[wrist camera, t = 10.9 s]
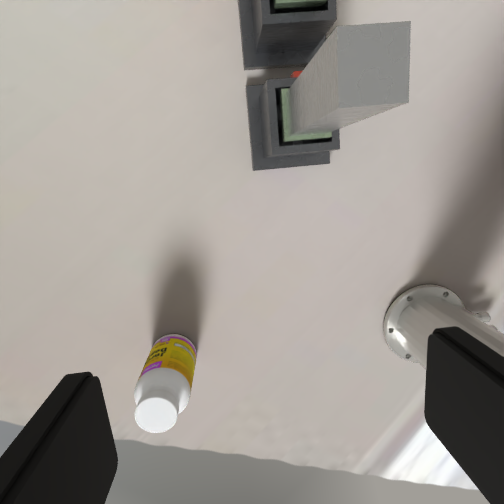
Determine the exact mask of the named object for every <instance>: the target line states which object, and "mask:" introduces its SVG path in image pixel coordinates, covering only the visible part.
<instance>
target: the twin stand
mask: <svg viewBox="0 0 504 504" xmlns="http://www.w3.org/2000/svg"><path fill="white" fill-rule="evenodd" d="M238 6H239V18H240V29H241V40H242V52H243V63H244V70H254V69H267V68H280V67H293V66H305V65H308V63H309V62H310V61H311V59H312V58H313V57H314V55H315V54H316V53H317V52H318V50H319V49H320V48H321V46H322V45H323V44H324V42H325V41H326V33H327V32H328V30H329V29H330V28H331V26H332V25H333V23H334V22H335V21H336V19H337V17H336V0H238Z"/></svg>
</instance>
